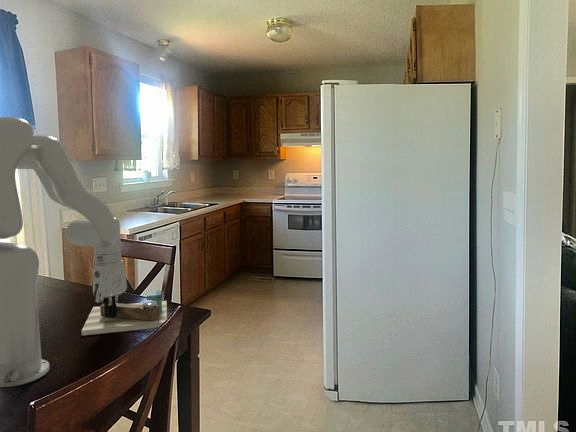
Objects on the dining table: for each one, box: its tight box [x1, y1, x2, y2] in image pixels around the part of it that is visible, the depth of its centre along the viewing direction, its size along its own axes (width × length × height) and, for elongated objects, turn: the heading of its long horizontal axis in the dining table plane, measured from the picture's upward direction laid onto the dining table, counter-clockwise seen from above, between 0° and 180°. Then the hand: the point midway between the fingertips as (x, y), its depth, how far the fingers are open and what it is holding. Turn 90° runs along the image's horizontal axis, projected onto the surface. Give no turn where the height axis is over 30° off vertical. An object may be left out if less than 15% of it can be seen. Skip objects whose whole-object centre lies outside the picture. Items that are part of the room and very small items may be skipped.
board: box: [81, 300, 168, 336], centre depth 141 cm, size 22×24×2 cm
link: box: [99, 302, 160, 320], centre depth 138 cm, size 18×4×4 cm, turn 79°
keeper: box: [146, 290, 163, 313], centre depth 144 cm, size 5×4×6 cm
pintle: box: [142, 300, 156, 309], centre depth 136 cm, size 4×4×5 cm
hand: (110, 316), depth 135 cm, fingers closed
